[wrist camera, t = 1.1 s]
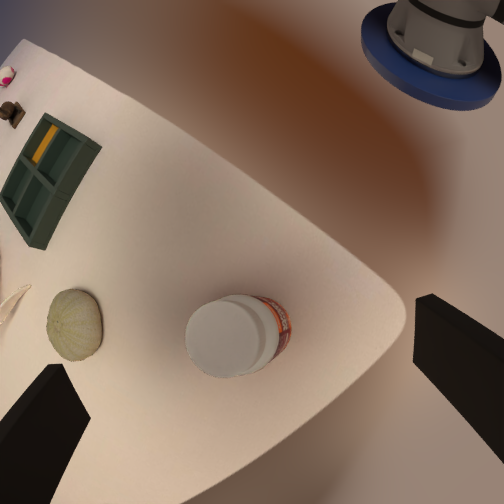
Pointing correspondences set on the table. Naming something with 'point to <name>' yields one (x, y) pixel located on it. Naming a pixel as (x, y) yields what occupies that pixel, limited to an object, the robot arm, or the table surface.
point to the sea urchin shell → (74, 325)
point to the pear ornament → (11, 302)
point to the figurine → (12, 113)
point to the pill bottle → (237, 335)
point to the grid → (46, 178)
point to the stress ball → (6, 75)
